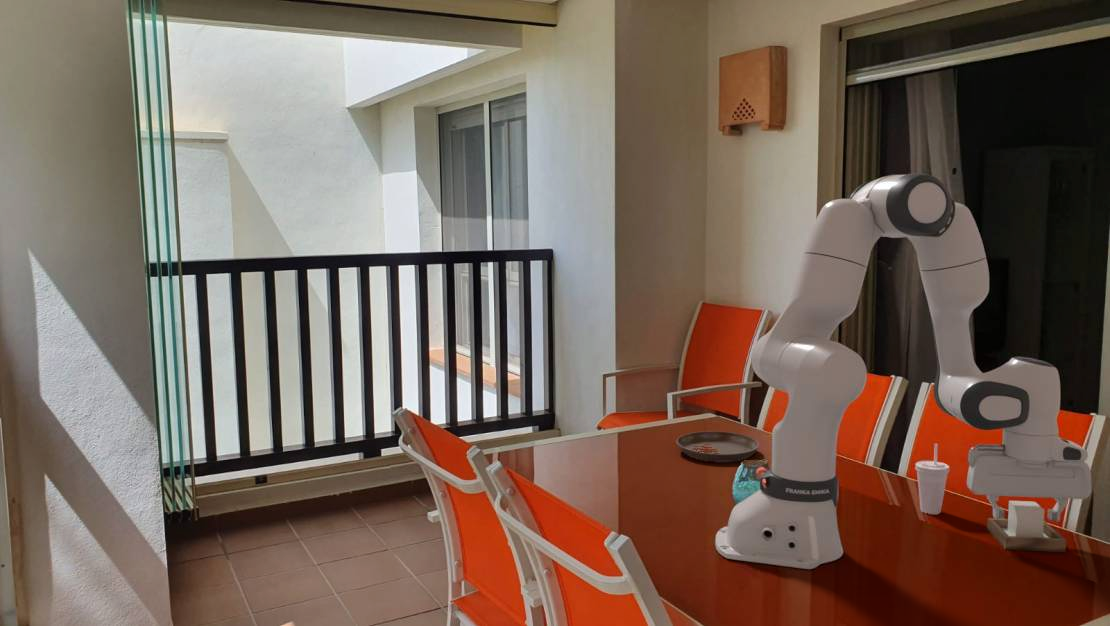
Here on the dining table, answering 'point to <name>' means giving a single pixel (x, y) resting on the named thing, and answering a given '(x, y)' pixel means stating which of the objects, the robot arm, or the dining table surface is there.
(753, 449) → the plant saucer
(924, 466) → the smoothie
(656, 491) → the dining table surface
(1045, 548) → the rest tray
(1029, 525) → the cream block
